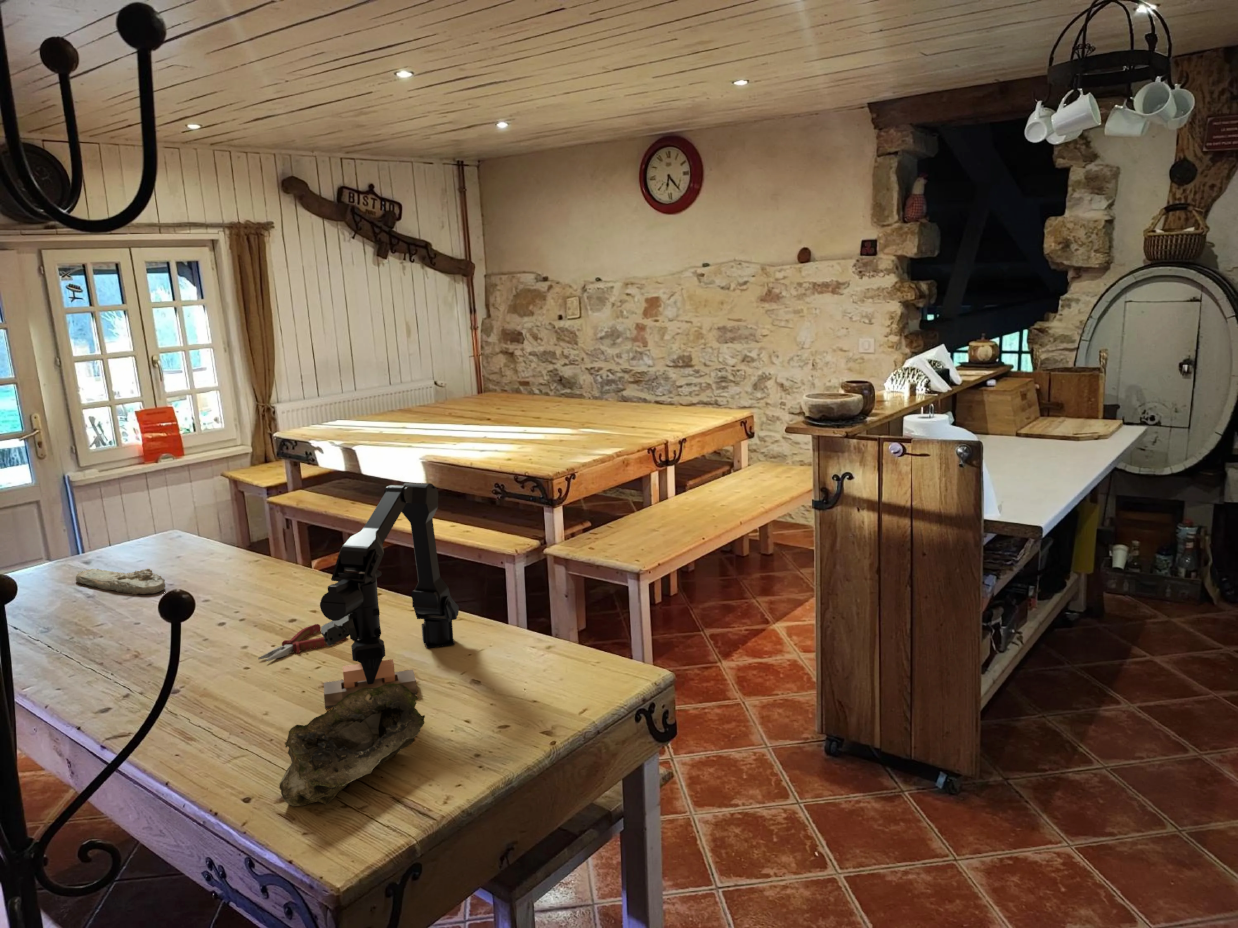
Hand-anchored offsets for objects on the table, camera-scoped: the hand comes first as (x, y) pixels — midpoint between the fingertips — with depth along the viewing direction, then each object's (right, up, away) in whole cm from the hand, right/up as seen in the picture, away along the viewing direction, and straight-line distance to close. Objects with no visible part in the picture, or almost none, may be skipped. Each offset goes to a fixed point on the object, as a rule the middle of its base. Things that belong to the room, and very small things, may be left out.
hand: (369, 675), depth 184 cm
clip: (0, -4, +1) cm, 4 cm away
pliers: (-25, 0, +29) cm, 38 cm away
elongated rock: (-94, +7, +77) cm, 122 cm away
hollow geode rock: (+7, -10, -30) cm, 33 cm away
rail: (0, -4, +1) cm, 4 cm away
